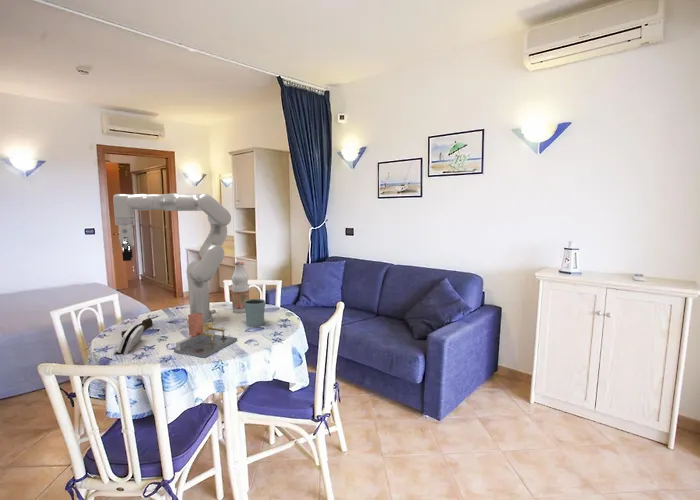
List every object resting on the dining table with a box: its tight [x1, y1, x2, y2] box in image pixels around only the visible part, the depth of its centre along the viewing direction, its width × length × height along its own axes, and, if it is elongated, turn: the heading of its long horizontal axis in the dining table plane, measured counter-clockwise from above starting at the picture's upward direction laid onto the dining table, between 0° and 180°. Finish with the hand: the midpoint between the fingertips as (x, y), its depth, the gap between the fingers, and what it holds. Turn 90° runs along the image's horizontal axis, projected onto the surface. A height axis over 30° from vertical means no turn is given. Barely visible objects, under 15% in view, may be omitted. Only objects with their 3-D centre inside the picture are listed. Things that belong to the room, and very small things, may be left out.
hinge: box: [113, 324, 145, 356], centre depth 157 cm, size 17×5×10 cm, turn 12°
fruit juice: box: [231, 261, 250, 314], centre depth 209 cm, size 9×9×28 cm
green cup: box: [244, 298, 266, 328], centre depth 186 cm, size 10×10×12 cm
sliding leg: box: [187, 313, 214, 344], centre depth 158 cm, size 4×11×12 cm, turn 69°
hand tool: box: [121, 317, 153, 339], centre depth 176 cm, size 19×4×5 cm, turn 170°
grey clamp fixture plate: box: [173, 322, 238, 359], centre depth 157 cm, size 20×16×7 cm
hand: (128, 259), depth 168 cm, fingers open, 9 cm apart
